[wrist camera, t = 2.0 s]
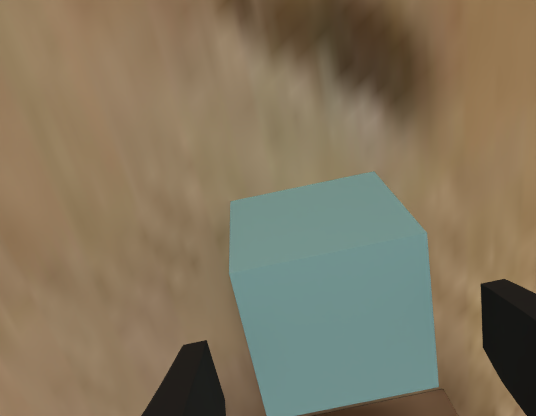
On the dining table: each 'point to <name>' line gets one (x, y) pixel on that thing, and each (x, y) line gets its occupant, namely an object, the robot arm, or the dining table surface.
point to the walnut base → (404, 406)
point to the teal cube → (333, 295)
